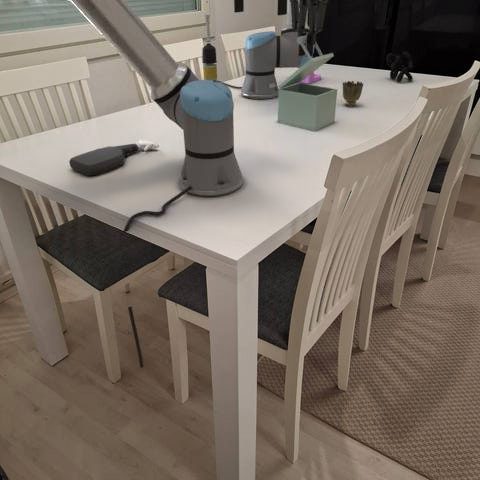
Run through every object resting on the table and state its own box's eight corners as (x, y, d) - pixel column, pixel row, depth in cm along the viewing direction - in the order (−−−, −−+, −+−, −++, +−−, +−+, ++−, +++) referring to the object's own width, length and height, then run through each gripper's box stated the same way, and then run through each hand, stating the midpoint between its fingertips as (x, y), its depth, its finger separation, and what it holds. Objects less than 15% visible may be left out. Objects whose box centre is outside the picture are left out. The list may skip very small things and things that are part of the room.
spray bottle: (67, 168, 120) (139, 144, 136) (91, 178, 114) (163, 151, 130) (65, 157, 118) (137, 134, 134) (89, 167, 112) (162, 142, 128)
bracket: (309, 83, 198) (310, 66, 194) (298, 81, 200) (299, 65, 197) (323, 78, 206) (324, 62, 203) (312, 76, 209) (313, 60, 205)
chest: (334, 122, 150) (337, 89, 145) (314, 131, 143) (317, 96, 137) (297, 114, 159) (299, 82, 153) (277, 122, 152) (278, 89, 146)
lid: (334, 55, 141) (320, 29, 140) (313, 61, 133) (298, 33, 133) (300, 82, 153) (287, 58, 152) (279, 89, 146) (265, 63, 145)
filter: (220, 99, 177) (217, 15, 161) (206, 100, 176) (202, 16, 160) (215, 96, 182) (212, 14, 166) (202, 97, 180) (197, 14, 164)
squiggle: (400, 92, 202) (376, 71, 205) (417, 76, 202) (392, 56, 205) (405, 81, 191) (380, 59, 194) (423, 64, 191) (397, 42, 194)
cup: (337, 106, 166) (340, 84, 162) (343, 101, 171) (346, 79, 167) (357, 108, 163) (360, 86, 159) (363, 103, 168) (365, 81, 164)
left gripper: (318, -100, 93) (311, 14, 104) (230, -90, 107) (232, 9, 118) (297, -102, 88) (292, 17, 99) (208, -92, 102) (212, 12, 113)
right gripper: (340, -32, 126) (332, 56, 139) (296, -32, 135) (293, 51, 148) (325, -32, 122) (319, 60, 134) (281, -31, 130) (279, 55, 143)
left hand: (259, 13), depth 109 cm, fingers open, 13 cm apart
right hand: (305, 55), depth 141 cm, fingers closed on lid, 2 cm apart
